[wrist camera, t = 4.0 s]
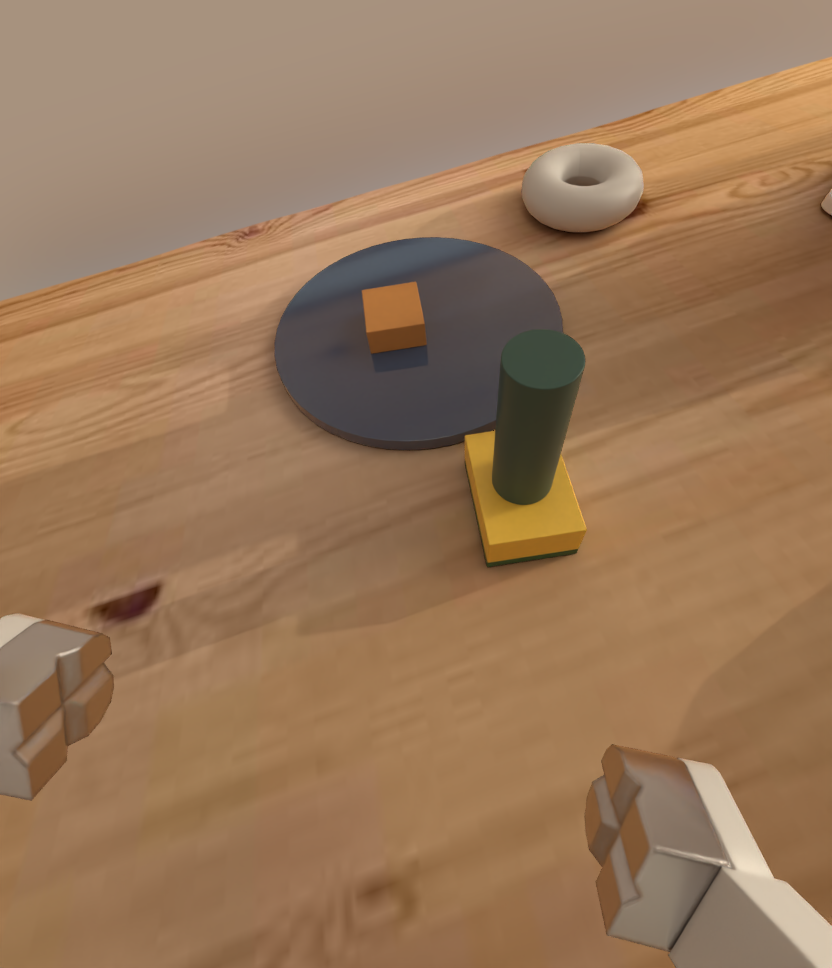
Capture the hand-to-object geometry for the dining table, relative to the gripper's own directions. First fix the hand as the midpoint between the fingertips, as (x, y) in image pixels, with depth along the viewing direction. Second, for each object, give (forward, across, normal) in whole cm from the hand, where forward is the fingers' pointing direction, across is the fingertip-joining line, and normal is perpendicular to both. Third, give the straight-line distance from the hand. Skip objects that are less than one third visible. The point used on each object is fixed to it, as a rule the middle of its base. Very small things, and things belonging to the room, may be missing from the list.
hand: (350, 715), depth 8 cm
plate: (+33, +3, -3) cm, 33 cm away
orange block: (+32, +5, -3) cm, 33 cm away
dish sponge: (+22, -6, +4) cm, 23 cm away
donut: (+45, -8, -15) cm, 48 cm away
